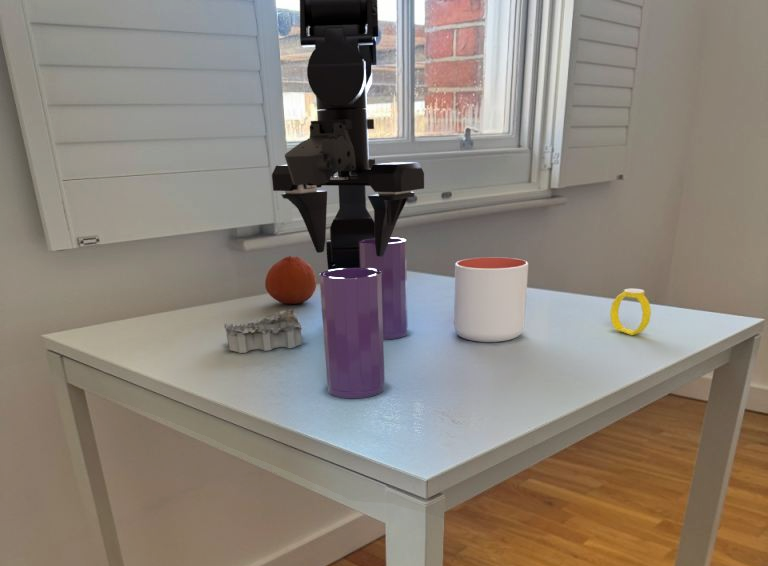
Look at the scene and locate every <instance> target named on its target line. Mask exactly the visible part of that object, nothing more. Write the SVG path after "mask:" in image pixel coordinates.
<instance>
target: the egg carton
mask: <svg viewBox="0 0 768 566" xmlns="http://www.w3.org/2000/svg"><path fill="white" fill-rule="evenodd" d="M224 329H225V332H226V339H227V340H226V341H227V345H228V348H229V351H231V352H235V353H239V354H246V353H248V352H250V351H254V350H255V351H256V350H260V351H261V350H262V351H265V352H268V351H271V350H273V349H276V348H287V349H294V348H296V347H298V346H302V344H303V337H302V329H303V327H302V325H301V323H300V322H299V320H298V317H297V315H296V312H294V309H293V308H292V309H284V310H279V311H277V312H273V314H272V316H271V317H262V318H261V319H259V320H256V321H251V320H250V321H246V322H241V323H240V324H235V325H233V323H231V324H227V323H224Z"/></svg>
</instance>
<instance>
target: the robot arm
mask: <svg viewBox="0 0 768 566" xmlns="http://www.w3.org/2000/svg"><path fill="white" fill-rule="evenodd" d="M378 9H379V8H378V0H299V42H300V46H301V47H302V48H314V49H313V51H312V52H311V55H310V56H309V59H308V63H307V67H306V76H307V77H306V78H307V81H308V85H309V88H310V89H311V92H313V94H314V95H315V100H316V115H317V120H310V125H309V138H307V139H305V140H303V141H301V142H299V143H298V144H297V145H296V146H294V147H293V148H291V149H290V150H289V151H287V152H286V153H285V154H284V158H285V159H284V160H285V163H286V164H280V165H279V164H278V165H275V167H274V169H273V171H272V173H271V182H272V183H271V184H272V191H273V192H284V193H281V197H282V198H283V199H285V200H288V201H289V202H290V203H291V204H292V205H293V206H294V207H296V209H297V211H298V212H299V214H300V216H301V218H302V221H303V222H304V225H305V227H306V230H307V232H308V235H309V238H310V239H311V242H312V244H313V246H314V249H315V252H316V253H318V254H319V253H323V252H324V251H325V250H326V262H327V271H328V270H333V269H342V268H359V251H358V241H360V240H364V239H371V238H375V248H376V255H377V256H378V257H381V256H383V255H384V253H385V251H386V248H387V246H388V243H389V240H390V238H392V235H393V232H394V229H395V226H396V225H397V222H398V220H399V218H400V215H401V214H402V211H403V210H404V207H405V206H406V203H407V201H408V199H410V198H414V197H415V195H416V194H415V191H416V190H423V189H425V172H424V170H423V168H422V166H421V164H420V163H419V162H418V161H417V162H416V161H415V162H414V161H413V162H407V161H406V162H386V163H376V158H370V153H369V130H374V129H375V119H373V118H372V119H371V118H368V109H367V108H368V99H367V98H368V97H367V94H368V92H369V90H370V88H371V87H372V84H373V67H377V38H379V12H378ZM335 174H337V176H336V175H335ZM323 186H331V187H332V186H333V187H334V186H336V187H337V186H338V206H339V208H338V211H337V213H336V214H335V216H334V218H333V219H332V222H331V223H330V224H331V225H330V226H329V239H330V240H326V237H327V236H326V235H327V210H328V209H327V208H328V207H327V206H328V190H318V188H322V187H323ZM366 187H371V189H372V190H373V192H374V193H377V194H370V195H366V193H367V191H366ZM367 199H368V200H369V203H370V205H371V207H372V208H373V214H374V215H373V216H371V214H370V213H369V210H368V209H367ZM372 217H373V218H374V219H373V218H372ZM325 246H326V249H325Z"/></svg>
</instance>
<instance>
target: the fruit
mask: <svg viewBox="0 0 768 566" xmlns="http://www.w3.org/2000/svg"><path fill="white" fill-rule="evenodd" d="M264 287H265V290H266V292H267V294H268V295H269V296H270V297H272V299H274V300H275V301H277V302H278V303H281V304H287V305H289V304H290V305H296V304H302V303H303V304H304V303H305V302H307V301H309V300H310V299H311V298H312V297H313V295H314V294H315V292H316V288H317V279H316V274H315V271H314V268H313V267H312V266H311V265H310V264H309V262H307V261H305V260H304V259H302V258H301V257H298V256H291V255H288V256H285V257H283V258H282V259H280V260H278V261H277V262H274V264H273V265H272V266H271V267H270V268H269V270H268V271H267V273H266V277H265V281H264Z"/></svg>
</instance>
